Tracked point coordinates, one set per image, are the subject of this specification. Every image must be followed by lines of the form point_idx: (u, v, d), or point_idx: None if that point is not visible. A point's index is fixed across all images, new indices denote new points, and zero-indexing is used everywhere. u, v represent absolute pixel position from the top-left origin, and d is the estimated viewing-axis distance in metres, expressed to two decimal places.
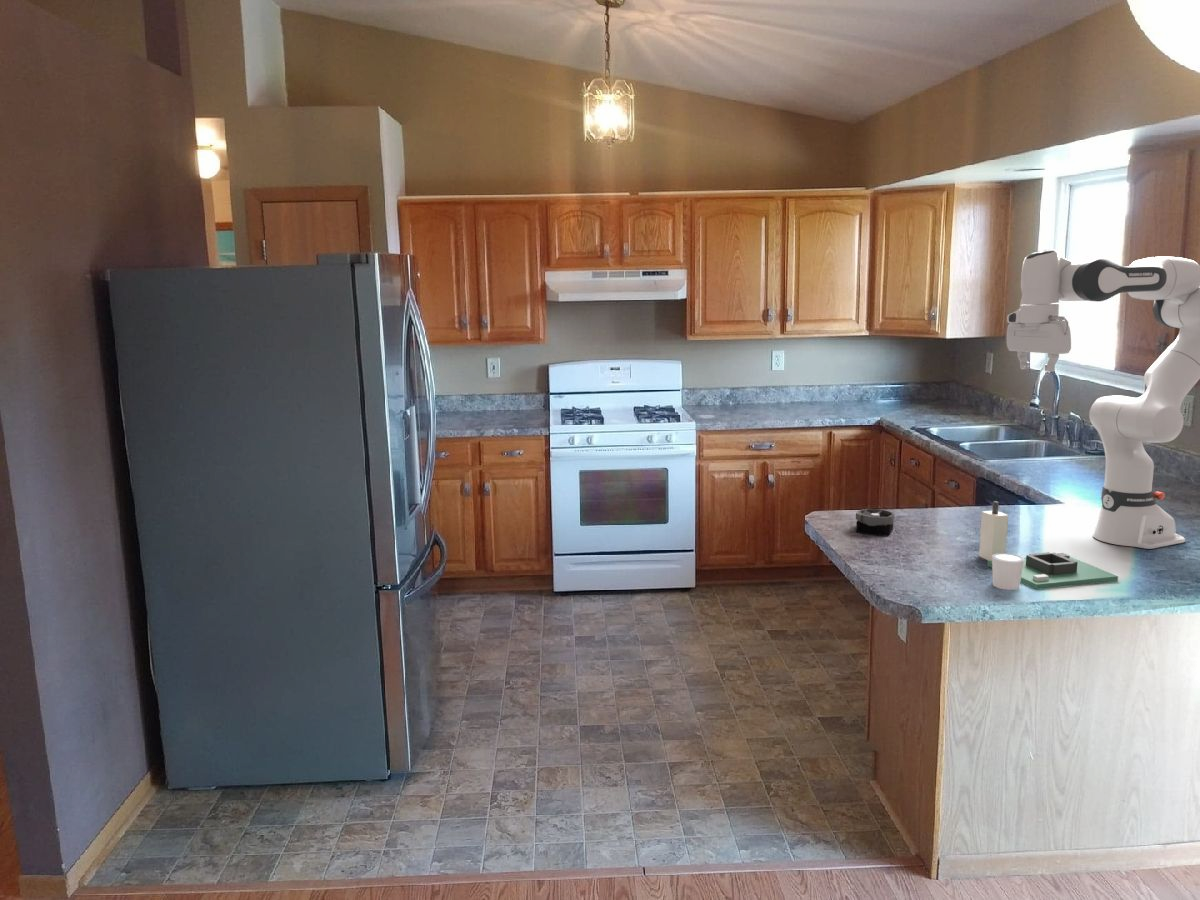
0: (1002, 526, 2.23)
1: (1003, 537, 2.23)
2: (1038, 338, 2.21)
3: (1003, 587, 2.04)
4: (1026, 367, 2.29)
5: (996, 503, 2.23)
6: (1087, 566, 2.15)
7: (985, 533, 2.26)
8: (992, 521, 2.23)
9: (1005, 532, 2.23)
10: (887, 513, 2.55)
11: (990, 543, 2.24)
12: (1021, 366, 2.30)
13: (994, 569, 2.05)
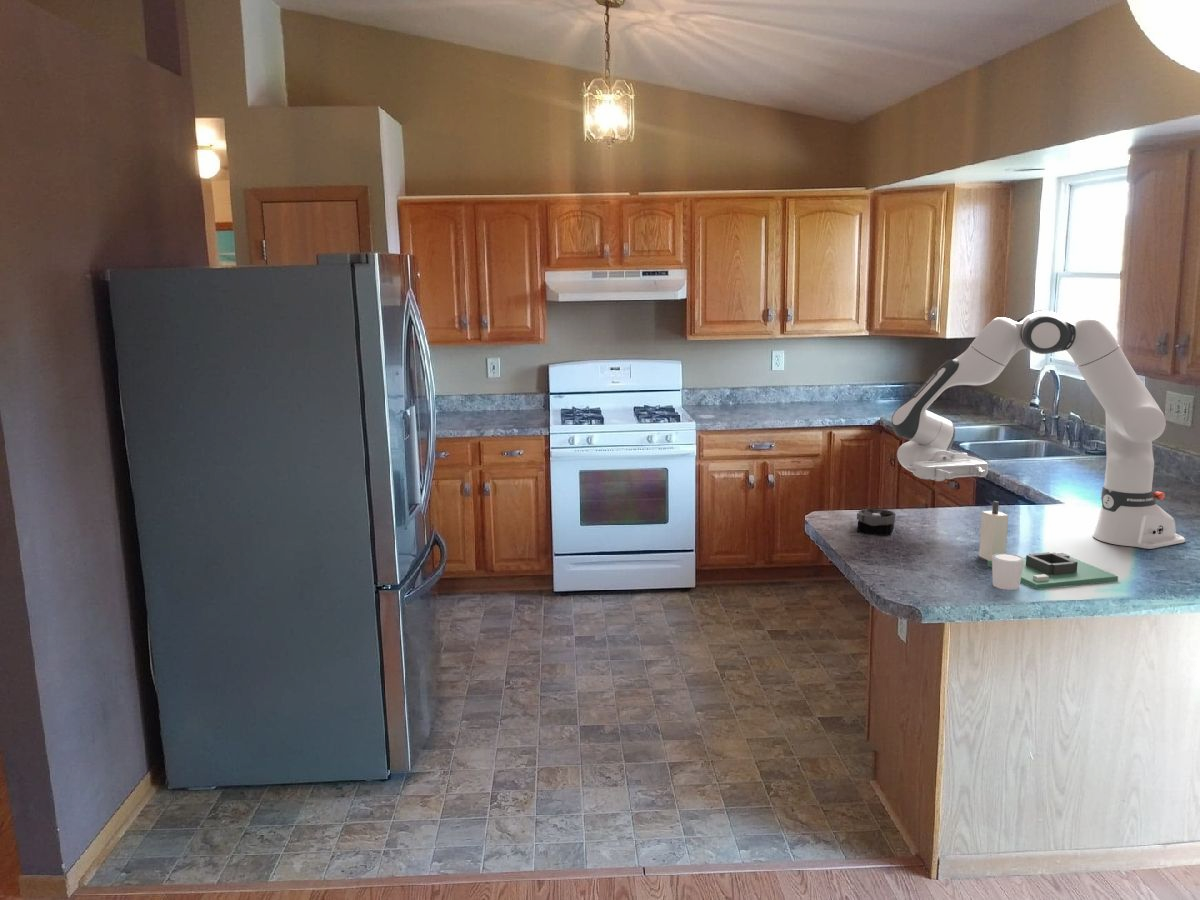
0: (1002, 526, 2.23)
1: (1003, 537, 2.24)
2: None
3: (1003, 587, 2.04)
4: (979, 473, 2.36)
5: (996, 503, 2.23)
6: (1087, 566, 2.15)
7: (985, 533, 2.26)
8: (992, 521, 2.23)
9: (1005, 532, 2.23)
10: (888, 513, 2.55)
11: (990, 543, 2.24)
12: None
13: (994, 569, 2.05)
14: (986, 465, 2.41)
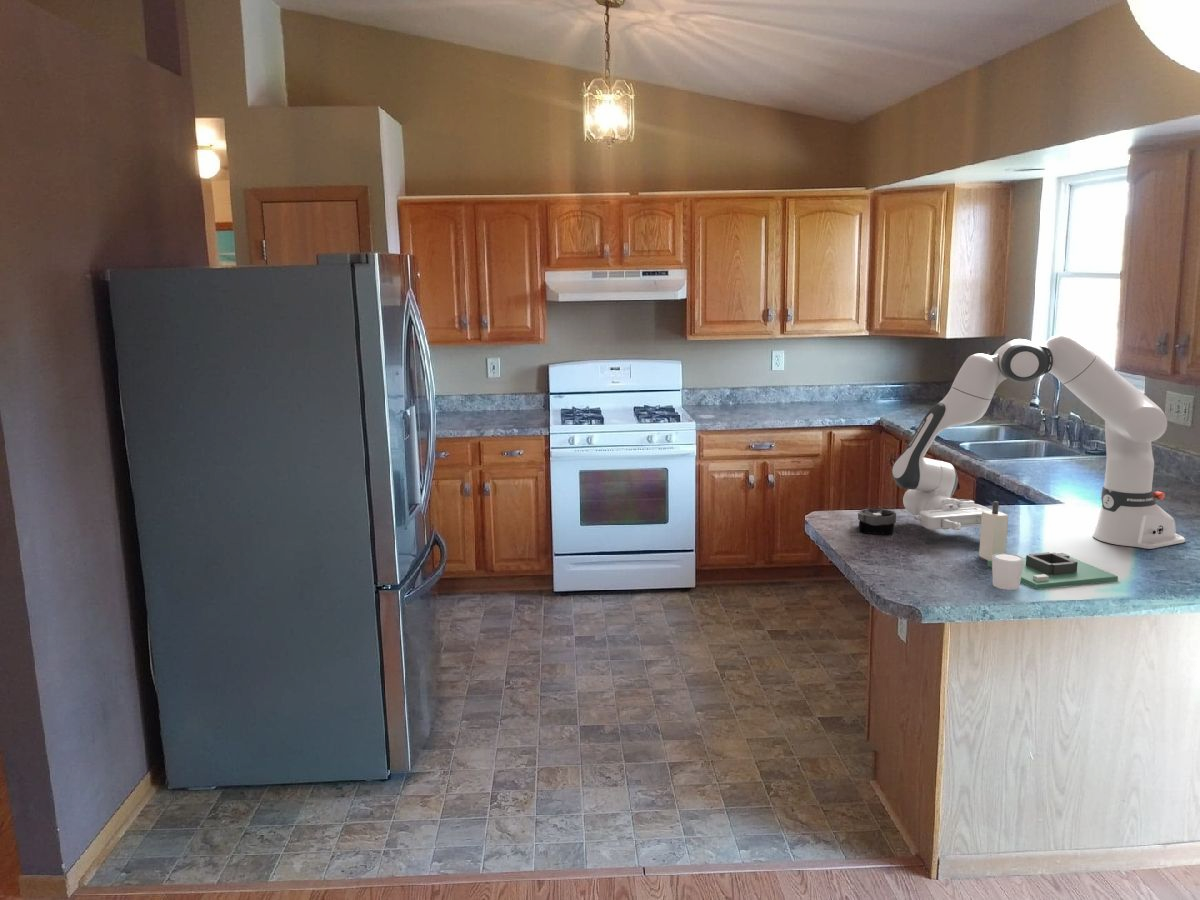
0: (1002, 526, 2.23)
1: (1003, 537, 2.24)
2: None
3: (1003, 587, 2.04)
4: None
5: (996, 503, 2.23)
6: (1087, 566, 2.15)
7: (985, 533, 2.26)
8: (992, 521, 2.23)
9: (1005, 532, 2.23)
10: (888, 512, 2.55)
11: (990, 543, 2.24)
12: None
13: (994, 569, 2.05)
14: None
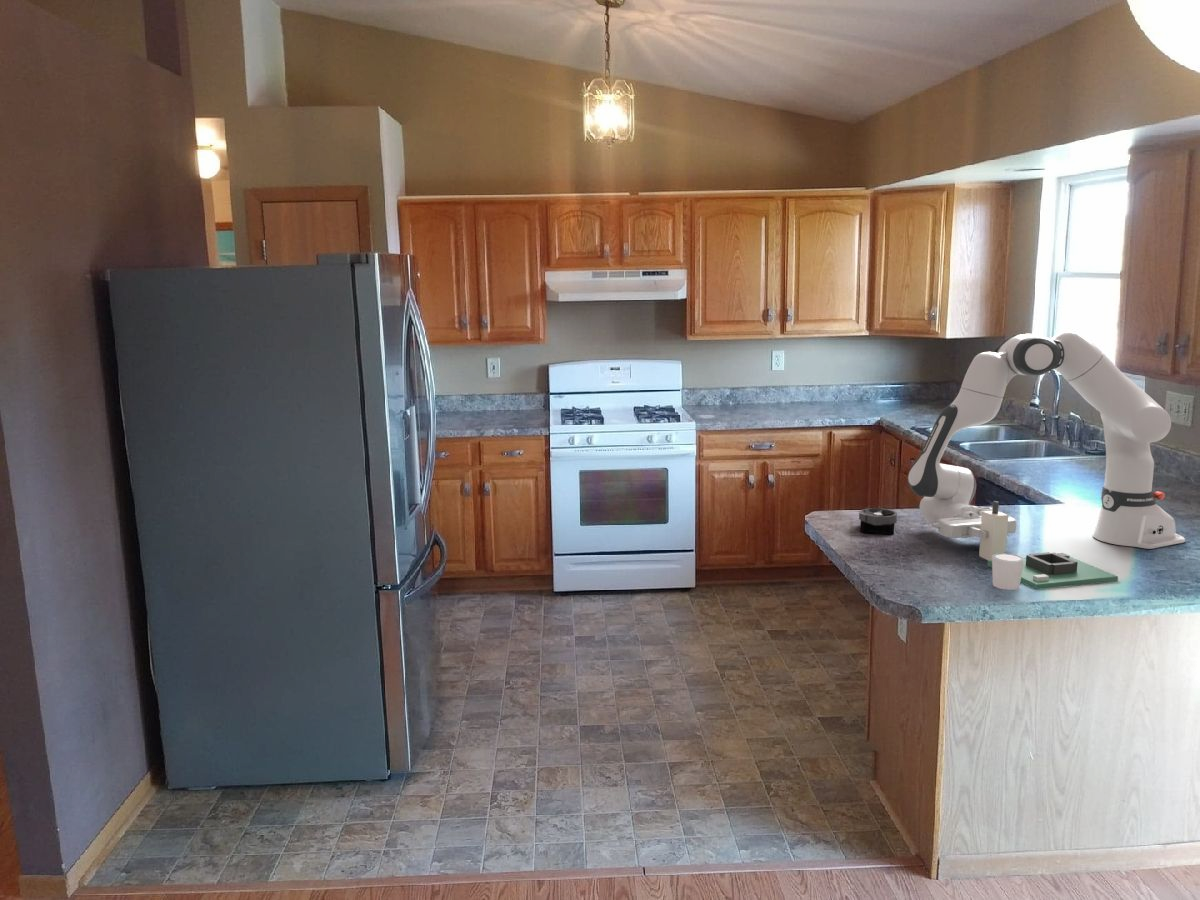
0: (1002, 525, 2.23)
1: (1003, 537, 2.23)
2: None
3: (1003, 587, 2.04)
4: None
5: (996, 503, 2.23)
6: (1087, 566, 2.15)
7: None
8: (992, 521, 2.23)
9: (1005, 532, 2.23)
10: (888, 512, 2.56)
11: (990, 543, 2.24)
12: None
13: (994, 569, 2.05)
14: (1015, 522, 2.31)
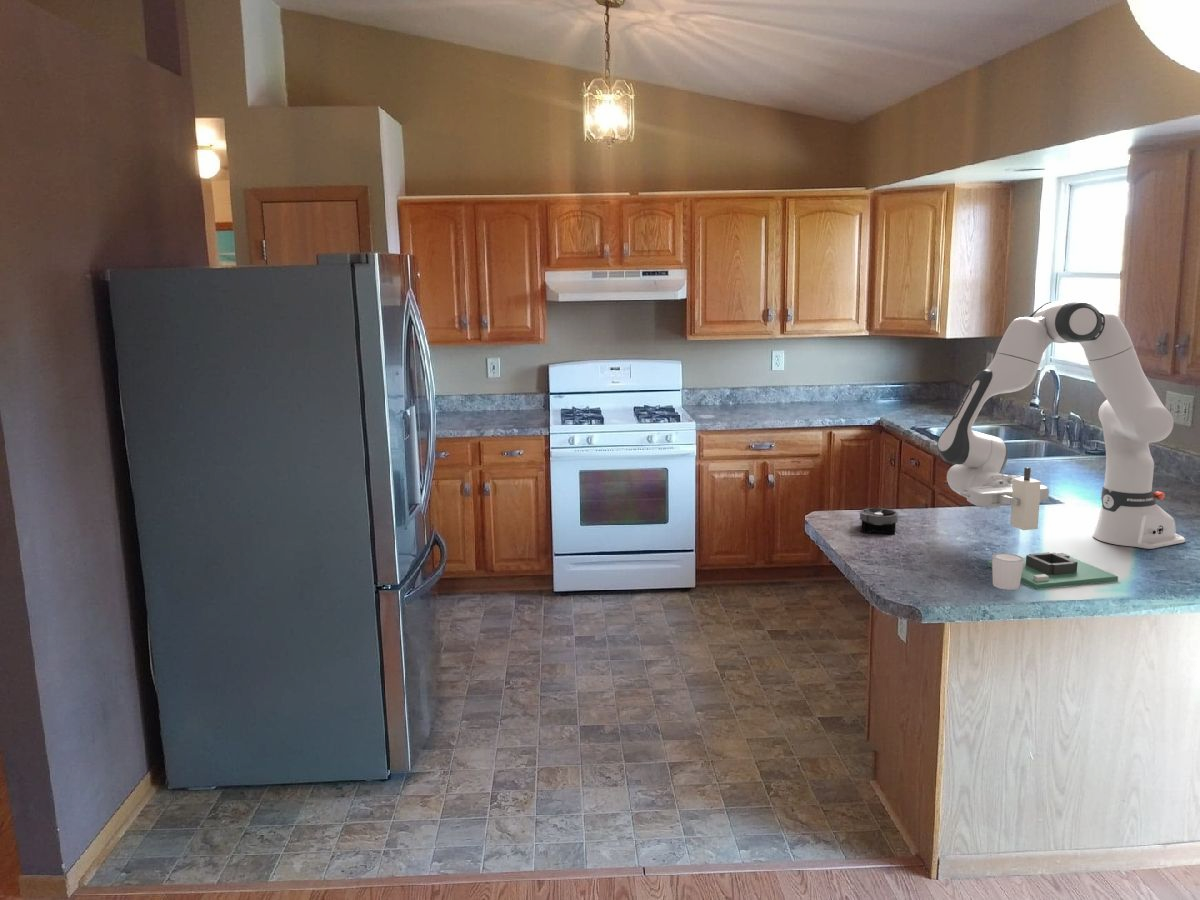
0: (1035, 492, 2.15)
1: (1035, 504, 2.16)
2: None
3: (1003, 587, 2.04)
4: None
5: (1028, 469, 2.16)
6: (1087, 566, 2.15)
7: None
8: (1024, 488, 2.15)
9: (1037, 499, 2.16)
10: (888, 512, 2.56)
11: (1022, 510, 2.16)
12: None
13: (994, 569, 2.05)
14: (1047, 490, 2.23)
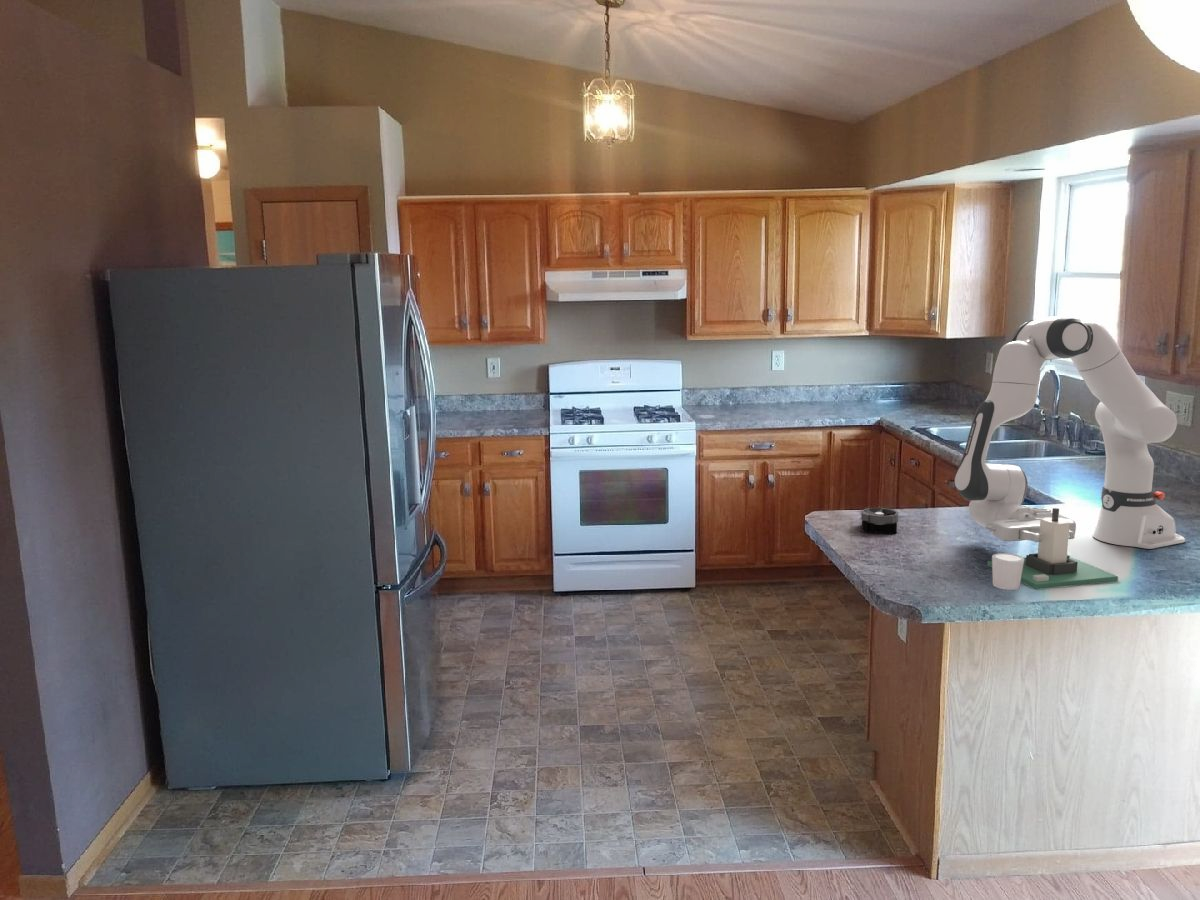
0: (1063, 534, 2.10)
1: (1064, 546, 2.11)
2: None
3: (1003, 587, 2.04)
4: None
5: (1056, 510, 2.11)
6: (1087, 566, 2.15)
7: (1045, 541, 2.13)
8: (1052, 529, 2.10)
9: (1066, 541, 2.11)
10: (888, 511, 2.57)
11: (1050, 552, 2.11)
12: None
13: (994, 569, 2.05)
14: (1074, 524, 2.18)
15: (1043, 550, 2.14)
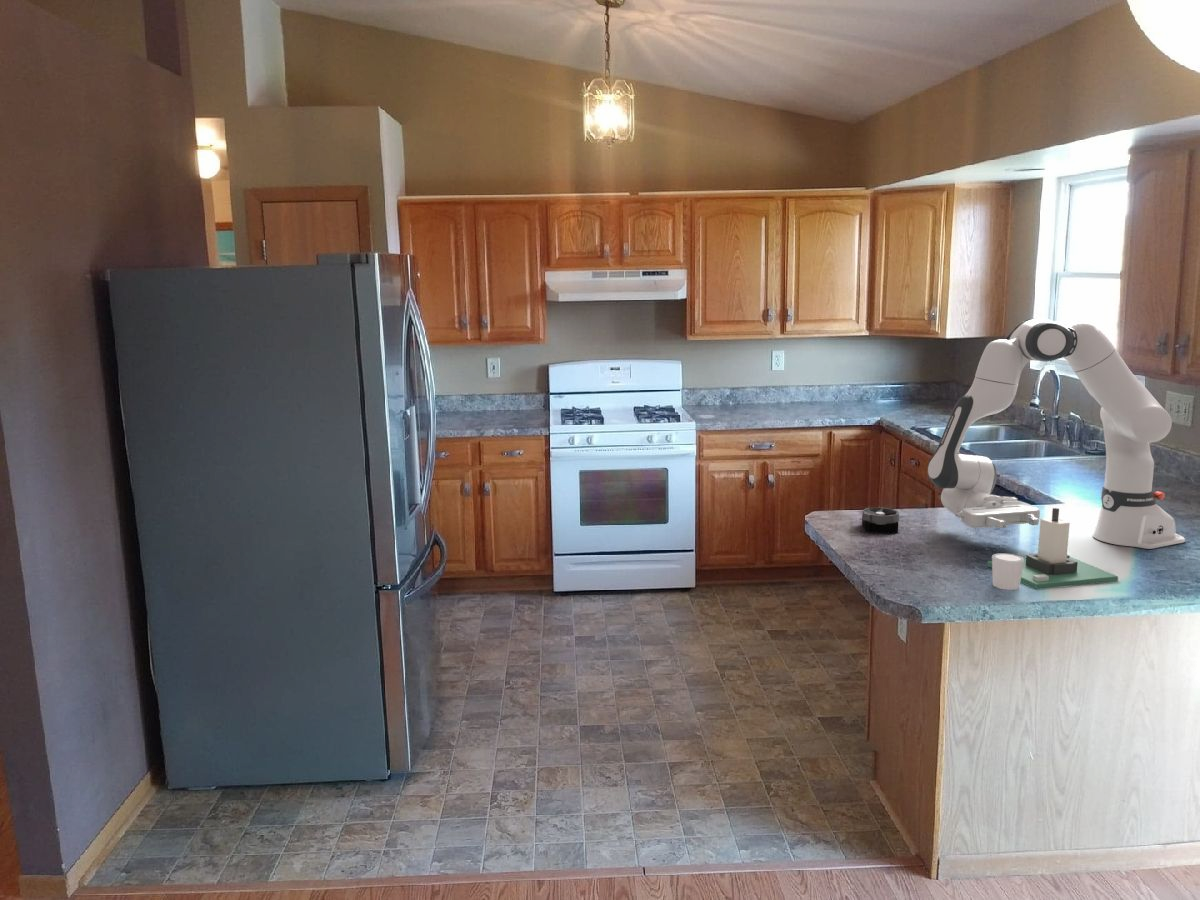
0: (1063, 534, 2.10)
1: (1064, 546, 2.11)
2: None
3: (1003, 587, 2.04)
4: (1032, 522, 2.26)
5: (1056, 510, 2.11)
6: (1087, 566, 2.15)
7: (1045, 541, 2.13)
8: (1052, 529, 2.10)
9: (1066, 541, 2.11)
10: (888, 511, 2.57)
11: (1050, 552, 2.11)
12: None
13: (994, 569, 2.05)
14: (1038, 512, 2.31)
15: (1043, 550, 2.14)
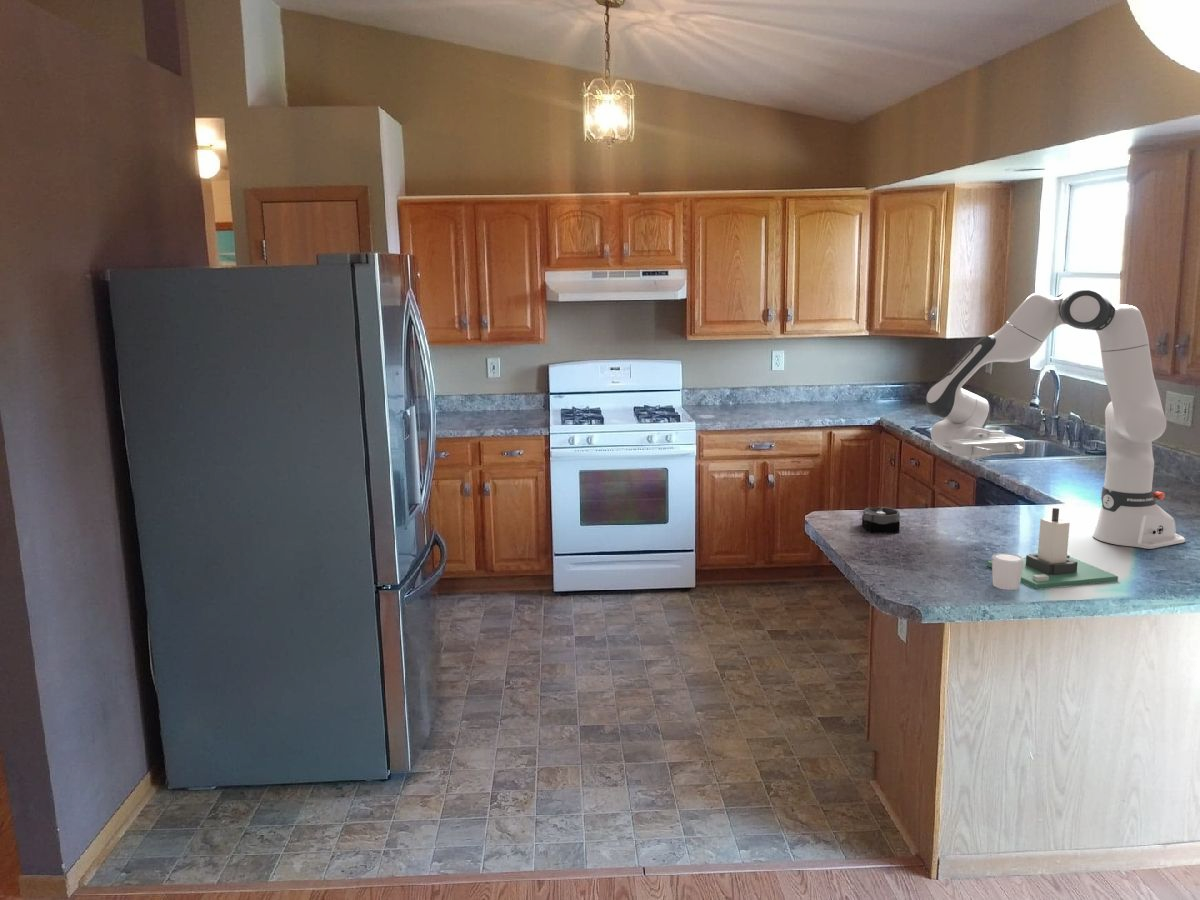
0: (1063, 534, 2.10)
1: (1064, 546, 2.11)
2: None
3: (1003, 587, 2.04)
4: (1017, 450, 2.33)
5: (1056, 510, 2.11)
6: (1087, 566, 2.15)
7: (1045, 541, 2.13)
8: (1052, 529, 2.10)
9: (1066, 541, 2.11)
10: (888, 510, 2.58)
11: (1050, 552, 2.11)
12: (1019, 453, 2.33)
13: (994, 569, 2.05)
14: (1023, 442, 2.38)
15: (1043, 550, 2.14)
